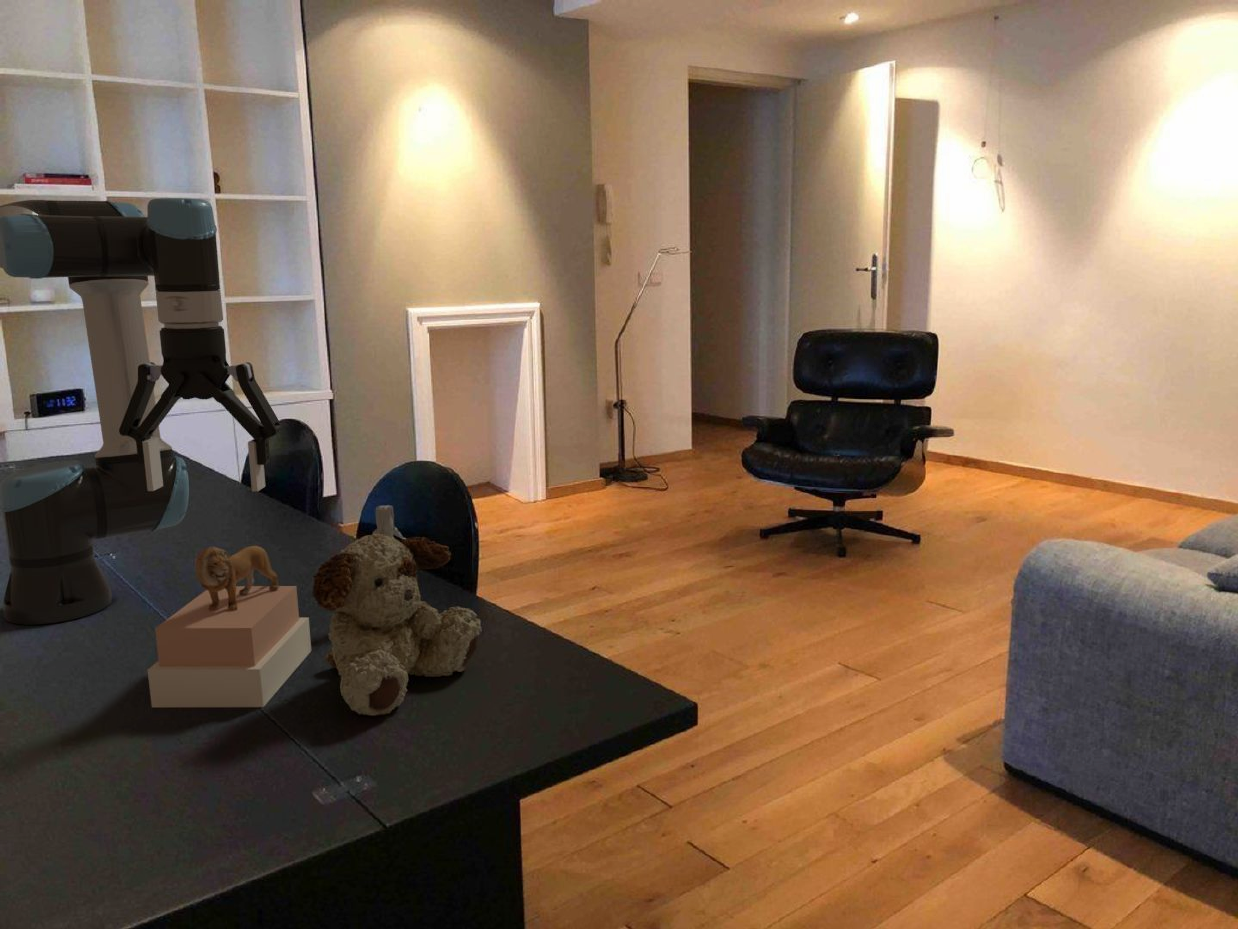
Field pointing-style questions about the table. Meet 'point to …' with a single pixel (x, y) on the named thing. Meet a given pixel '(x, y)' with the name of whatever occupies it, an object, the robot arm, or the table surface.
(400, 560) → the dog
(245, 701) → the stacked block pedestal
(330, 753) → the table surface
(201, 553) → the lion figurine
